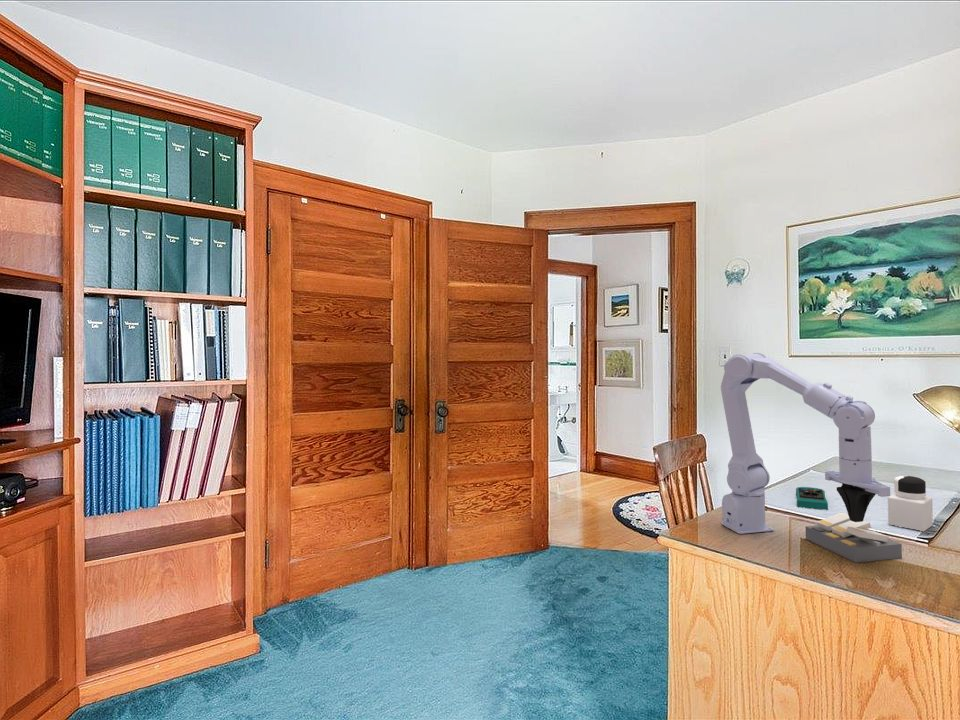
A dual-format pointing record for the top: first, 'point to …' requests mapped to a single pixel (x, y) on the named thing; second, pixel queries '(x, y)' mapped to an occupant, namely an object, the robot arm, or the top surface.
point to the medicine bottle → (910, 504)
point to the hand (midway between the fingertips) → (856, 520)
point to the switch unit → (854, 545)
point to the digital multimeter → (811, 498)
